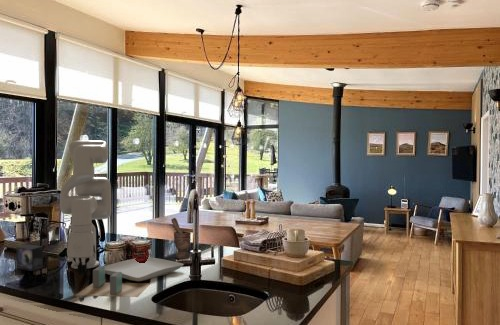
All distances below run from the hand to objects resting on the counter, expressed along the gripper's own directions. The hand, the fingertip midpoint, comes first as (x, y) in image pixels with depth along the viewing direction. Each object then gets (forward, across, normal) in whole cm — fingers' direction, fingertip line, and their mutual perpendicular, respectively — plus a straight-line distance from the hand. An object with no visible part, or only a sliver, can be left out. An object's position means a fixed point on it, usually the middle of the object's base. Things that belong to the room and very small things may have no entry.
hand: (82, 273), depth 168 cm
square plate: (+5, +18, +20) cm, 27 cm away
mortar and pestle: (+5, +28, +51) cm, 58 cm away
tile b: (+5, +17, -7) cm, 19 cm away
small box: (+5, -37, +25) cm, 45 cm away
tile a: (+5, +7, 0) cm, 8 cm away
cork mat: (+5, +15, -4) cm, 16 cm away
